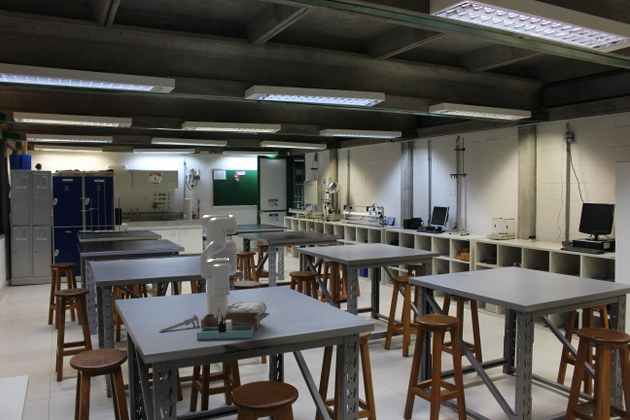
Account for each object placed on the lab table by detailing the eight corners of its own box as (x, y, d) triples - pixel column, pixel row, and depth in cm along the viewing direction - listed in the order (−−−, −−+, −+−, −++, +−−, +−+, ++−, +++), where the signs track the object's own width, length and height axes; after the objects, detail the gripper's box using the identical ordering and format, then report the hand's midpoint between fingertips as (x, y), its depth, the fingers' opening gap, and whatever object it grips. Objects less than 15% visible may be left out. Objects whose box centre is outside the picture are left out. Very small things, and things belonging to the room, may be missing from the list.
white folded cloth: (270, 311, 284) (269, 297, 284) (252, 323, 257) (251, 309, 257) (238, 310, 289) (238, 297, 288) (217, 323, 262) (217, 308, 261)
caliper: (198, 325, 255) (197, 313, 255) (198, 326, 254) (198, 314, 254) (158, 332, 244) (157, 320, 244) (158, 333, 243) (158, 320, 243)
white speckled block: (222, 332, 238) (222, 319, 238) (232, 332, 238) (231, 319, 238) (221, 335, 233) (220, 322, 233) (230, 334, 233) (230, 322, 233)
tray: (202, 332, 241) (202, 325, 241) (255, 330, 241) (255, 324, 241) (196, 339, 229) (196, 332, 229) (252, 337, 230) (252, 330, 229)
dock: (206, 325, 254) (206, 313, 254) (259, 323, 255) (259, 312, 254) (201, 331, 242) (200, 319, 242) (257, 330, 243) (256, 318, 242)
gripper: (215, 288, 231) (217, 328, 231) (209, 294, 216) (210, 337, 216) (232, 288, 231) (233, 327, 231) (226, 294, 216) (228, 336, 216)
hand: (222, 332), depth 224 cm, fingers closed
